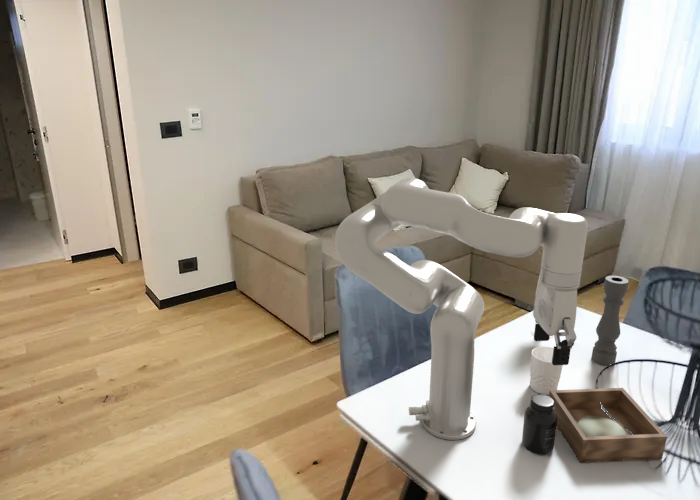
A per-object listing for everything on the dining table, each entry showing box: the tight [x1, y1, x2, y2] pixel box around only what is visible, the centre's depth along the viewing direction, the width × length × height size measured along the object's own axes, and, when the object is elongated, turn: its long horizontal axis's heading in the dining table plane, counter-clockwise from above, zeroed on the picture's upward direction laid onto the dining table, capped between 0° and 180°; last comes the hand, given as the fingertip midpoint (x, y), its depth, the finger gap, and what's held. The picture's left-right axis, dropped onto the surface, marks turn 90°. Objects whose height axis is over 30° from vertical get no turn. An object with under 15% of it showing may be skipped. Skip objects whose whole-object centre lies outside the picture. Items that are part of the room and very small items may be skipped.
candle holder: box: [590, 275, 629, 367], centre depth 151 cm, size 6×6×25 cm
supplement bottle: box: [521, 393, 557, 456], centre depth 120 cm, size 7×7×12 cm
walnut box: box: [548, 387, 668, 464], centre depth 125 cm, size 18×18×6 cm
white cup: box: [529, 346, 564, 396], centre depth 142 cm, size 8×8×10 cm
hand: (550, 351), depth 114 cm, fingers open, 9 cm apart
